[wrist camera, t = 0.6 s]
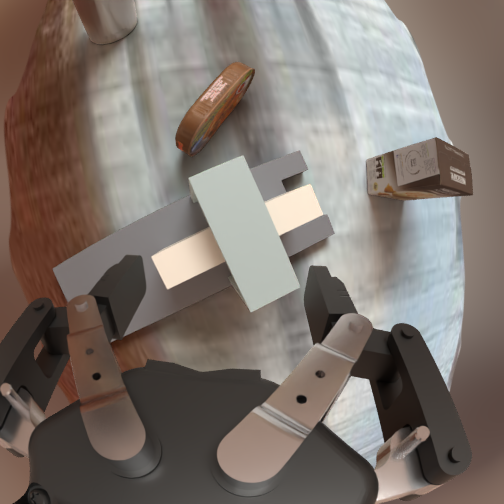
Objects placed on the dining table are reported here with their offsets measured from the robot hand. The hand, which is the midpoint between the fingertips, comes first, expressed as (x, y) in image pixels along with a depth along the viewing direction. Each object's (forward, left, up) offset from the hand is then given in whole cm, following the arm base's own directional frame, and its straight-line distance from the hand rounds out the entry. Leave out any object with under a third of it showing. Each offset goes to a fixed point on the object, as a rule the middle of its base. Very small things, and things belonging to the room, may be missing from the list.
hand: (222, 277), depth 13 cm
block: (0, +4, -23) cm, 23 cm away
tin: (-16, +9, -25) cm, 31 cm away
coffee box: (+3, +33, -25) cm, 41 cm away
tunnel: (0, +4, -23) cm, 23 cm away
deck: (0, -2, -25) cm, 25 cm away
